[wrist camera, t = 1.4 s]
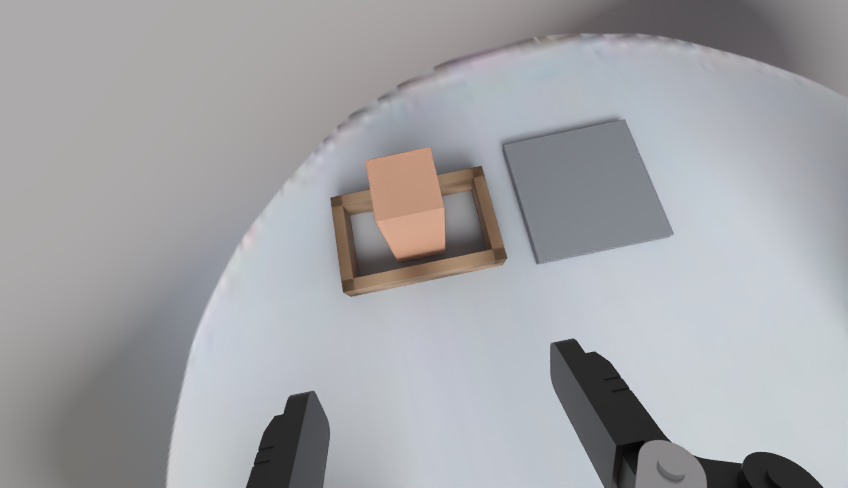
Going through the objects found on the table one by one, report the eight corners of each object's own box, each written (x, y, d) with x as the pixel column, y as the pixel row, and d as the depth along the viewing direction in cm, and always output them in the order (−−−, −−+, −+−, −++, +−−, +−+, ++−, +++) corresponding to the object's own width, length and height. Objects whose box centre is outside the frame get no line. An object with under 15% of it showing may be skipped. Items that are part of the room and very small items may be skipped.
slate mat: (621, 124, 36) (624, 119, 35) (668, 236, 32) (673, 234, 31) (502, 149, 36) (503, 144, 35) (537, 264, 32) (539, 262, 31)
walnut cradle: (479, 178, 35) (481, 165, 32) (502, 264, 32) (507, 258, 30) (338, 208, 35) (330, 197, 32) (350, 296, 32) (342, 292, 30)
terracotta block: (435, 209, 34) (430, 147, 24) (445, 252, 33) (444, 207, 22) (390, 218, 34) (365, 160, 24) (398, 262, 33) (375, 221, 22)
